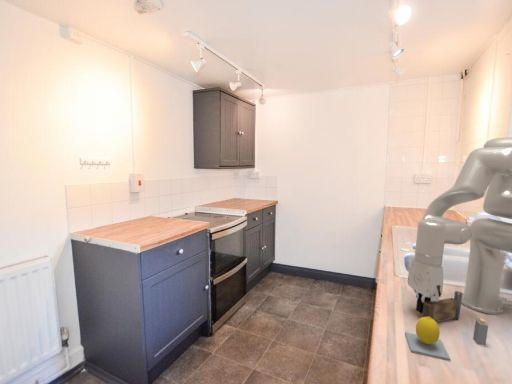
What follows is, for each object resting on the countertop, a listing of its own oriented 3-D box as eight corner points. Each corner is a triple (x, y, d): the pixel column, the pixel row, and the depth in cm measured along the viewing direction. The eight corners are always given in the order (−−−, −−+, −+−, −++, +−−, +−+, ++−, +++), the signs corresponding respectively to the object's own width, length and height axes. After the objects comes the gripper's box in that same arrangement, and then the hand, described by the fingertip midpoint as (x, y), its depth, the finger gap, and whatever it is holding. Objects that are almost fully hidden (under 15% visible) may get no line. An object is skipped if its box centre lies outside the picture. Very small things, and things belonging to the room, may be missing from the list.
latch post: (481, 340, 78) (484, 318, 78) (485, 345, 76) (488, 323, 75) (473, 338, 79) (476, 316, 78) (476, 343, 77) (480, 321, 76)
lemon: (416, 334, 79) (419, 309, 78) (439, 344, 75) (442, 317, 74) (412, 344, 75) (415, 317, 74) (435, 354, 71) (439, 325, 70)
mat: (440, 341, 77) (440, 339, 77) (450, 360, 70) (450, 358, 70) (404, 334, 80) (405, 332, 80) (410, 351, 73) (411, 349, 72)
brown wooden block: (449, 314, 90) (451, 297, 89) (455, 318, 88) (457, 300, 87) (421, 320, 86) (424, 302, 85) (427, 323, 84) (429, 305, 83)
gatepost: (457, 317, 90) (461, 291, 89) (459, 320, 88) (463, 294, 87) (450, 316, 90) (453, 290, 89) (452, 319, 89) (456, 293, 87)
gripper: (401, 250, 94) (396, 300, 96) (436, 268, 79) (429, 326, 82) (420, 250, 95) (415, 299, 98) (458, 267, 81) (451, 324, 83)
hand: (421, 311), depth 90 cm, fingers closed
